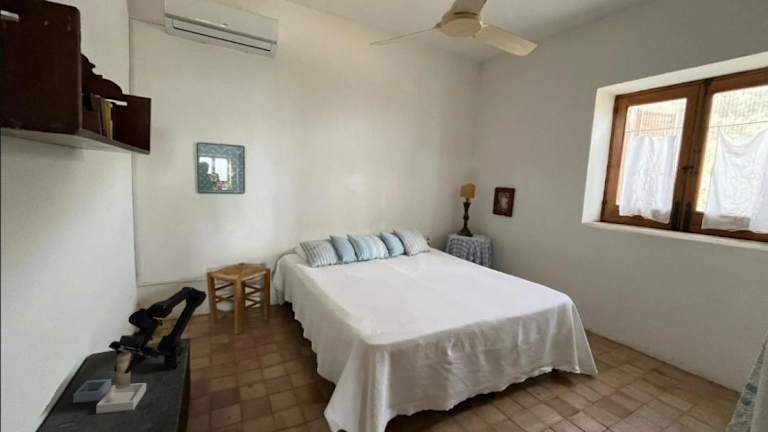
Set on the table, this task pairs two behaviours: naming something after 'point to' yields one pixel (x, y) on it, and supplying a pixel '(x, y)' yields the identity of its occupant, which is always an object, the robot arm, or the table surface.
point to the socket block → (86, 395)
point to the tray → (121, 398)
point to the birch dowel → (123, 370)
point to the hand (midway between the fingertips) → (120, 372)
